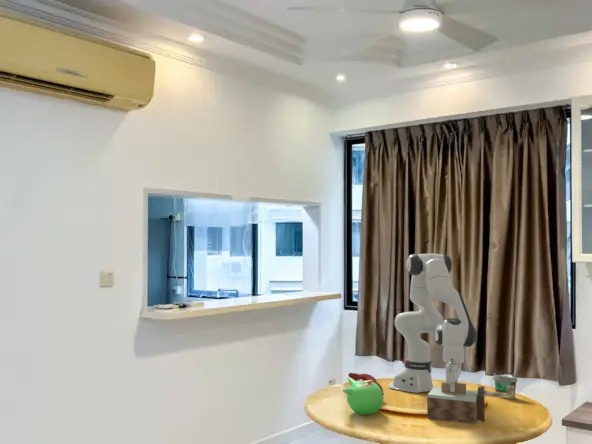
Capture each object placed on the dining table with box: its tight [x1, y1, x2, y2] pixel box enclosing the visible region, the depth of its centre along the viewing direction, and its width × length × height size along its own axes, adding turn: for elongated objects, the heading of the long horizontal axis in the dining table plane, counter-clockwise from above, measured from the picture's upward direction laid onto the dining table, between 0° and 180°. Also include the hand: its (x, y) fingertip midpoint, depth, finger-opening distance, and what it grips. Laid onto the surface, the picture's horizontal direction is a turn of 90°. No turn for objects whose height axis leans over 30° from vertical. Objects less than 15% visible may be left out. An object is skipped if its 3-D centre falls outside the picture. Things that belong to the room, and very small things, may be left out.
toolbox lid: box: [427, 381, 478, 402], centre depth 257 cm, size 19×14×6 cm
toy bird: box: [342, 376, 384, 416], centre depth 262 cm, size 18×17×15 cm
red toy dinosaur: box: [348, 372, 385, 396], centre depth 292 cm, size 28×9×15 cm
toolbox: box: [426, 385, 486, 425], centre depth 257 cm, size 22×14×13 cm, turn 67°
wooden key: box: [483, 386, 516, 400], centre depth 250 cm, size 13×2×4 cm, turn 67°
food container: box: [492, 372, 518, 398], centre depth 289 cm, size 12×6×10 cm, turn 37°
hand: (453, 389), depth 257 cm, fingers open, 5 cm apart
